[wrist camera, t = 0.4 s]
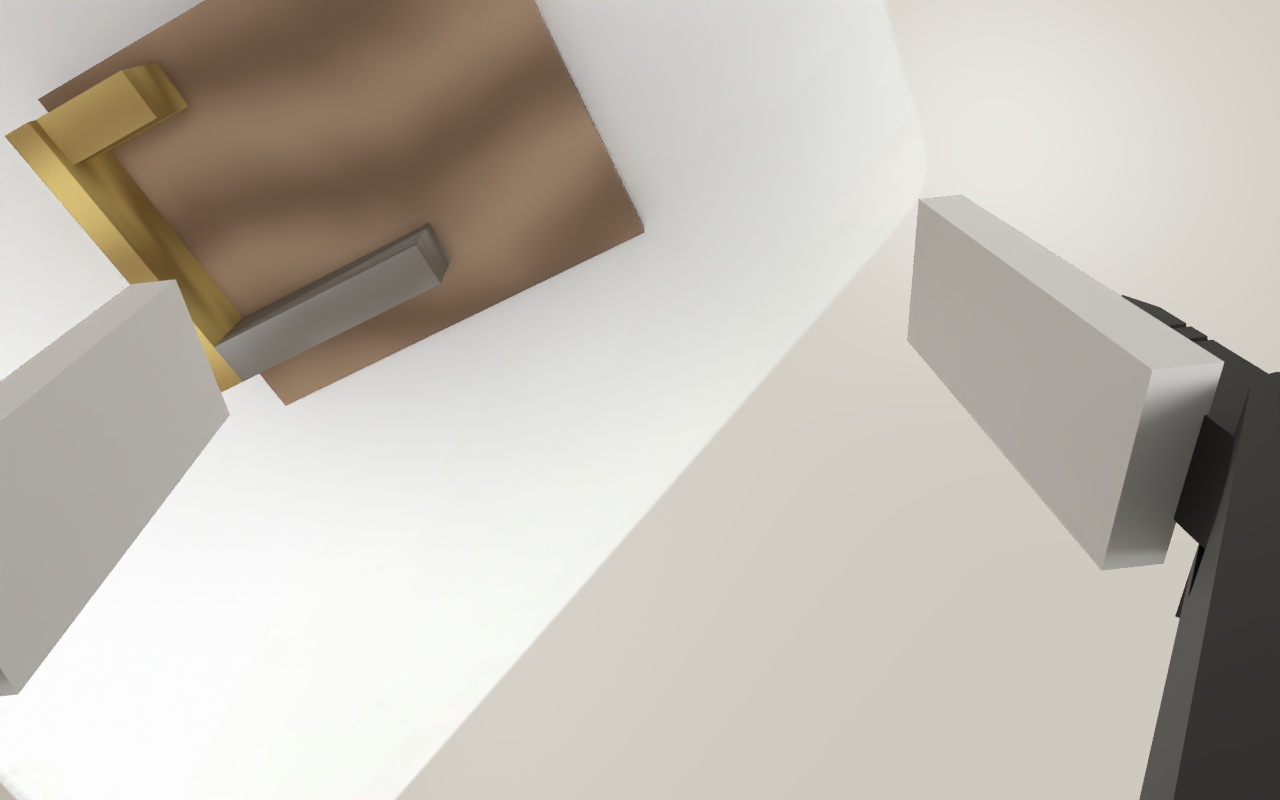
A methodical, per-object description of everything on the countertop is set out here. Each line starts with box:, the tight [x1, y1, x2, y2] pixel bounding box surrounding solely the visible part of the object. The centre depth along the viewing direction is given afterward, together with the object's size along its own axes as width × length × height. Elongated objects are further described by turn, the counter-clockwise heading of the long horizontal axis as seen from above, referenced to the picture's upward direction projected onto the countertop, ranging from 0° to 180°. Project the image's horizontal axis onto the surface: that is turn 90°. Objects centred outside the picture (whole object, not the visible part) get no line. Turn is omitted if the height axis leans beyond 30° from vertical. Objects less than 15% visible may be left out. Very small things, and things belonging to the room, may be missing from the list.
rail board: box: [5, 0, 644, 405], centre depth 36 cm, size 17×21×4 cm
